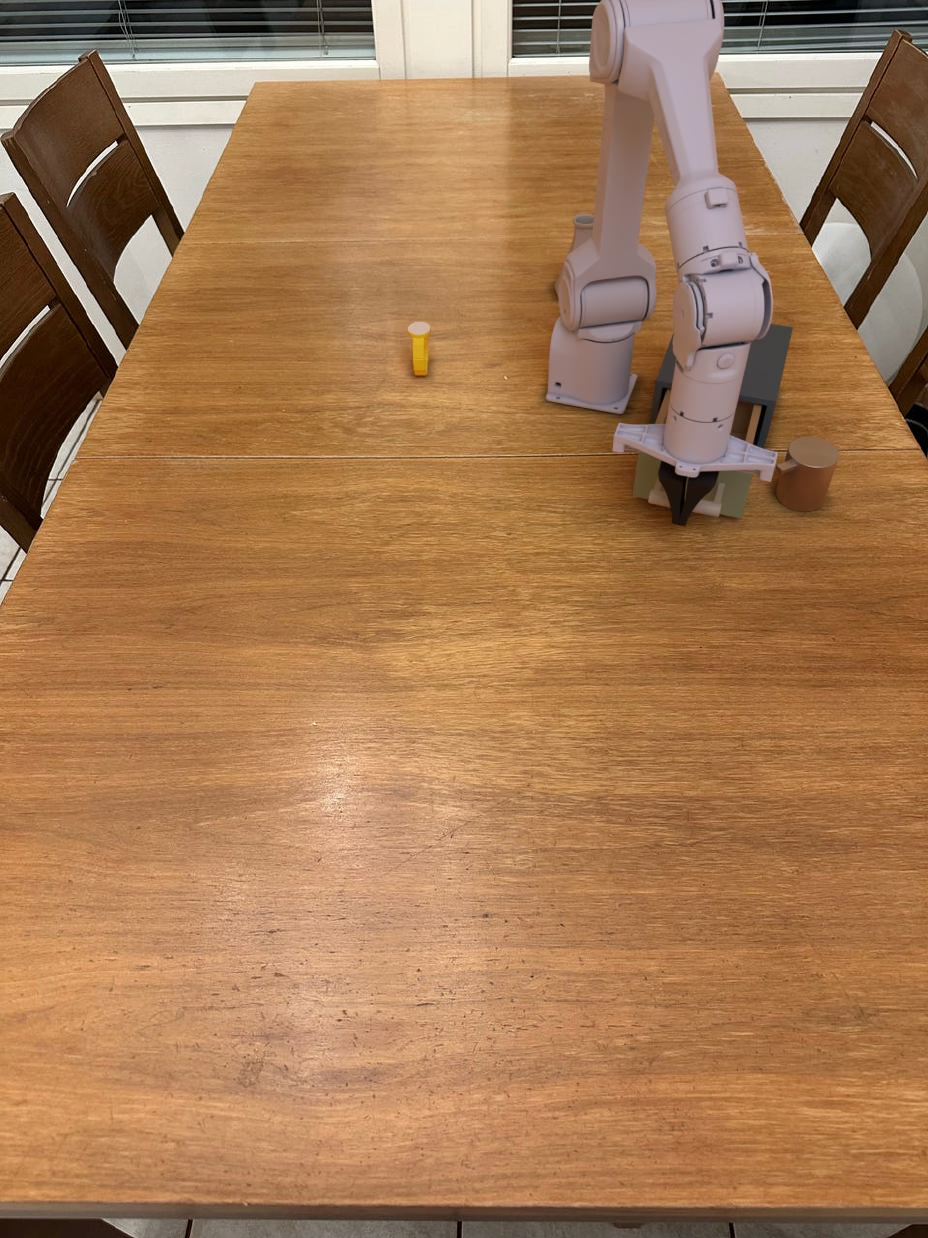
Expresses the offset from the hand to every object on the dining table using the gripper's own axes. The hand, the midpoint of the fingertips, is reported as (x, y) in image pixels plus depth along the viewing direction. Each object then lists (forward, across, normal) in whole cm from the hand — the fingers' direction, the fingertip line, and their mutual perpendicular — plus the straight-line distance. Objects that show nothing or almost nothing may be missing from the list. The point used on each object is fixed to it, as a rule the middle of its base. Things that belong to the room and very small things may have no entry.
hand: (680, 518), depth 92 cm
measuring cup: (+4, +11, +12) cm, 17 cm away
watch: (+5, -36, +22) cm, 43 cm away
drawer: (+4, 0, +10) cm, 11 cm away
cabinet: (+4, 0, +23) cm, 24 cm away
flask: (+5, -22, +46) cm, 51 cm away
